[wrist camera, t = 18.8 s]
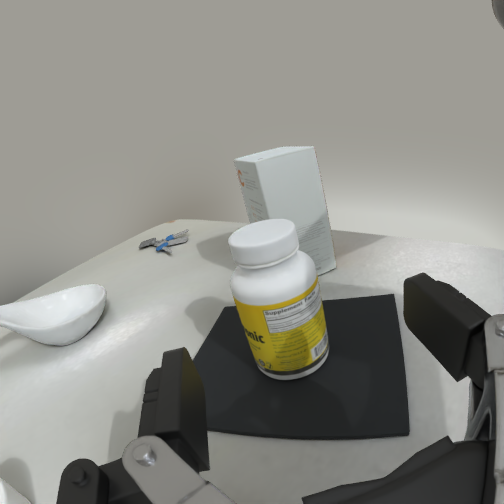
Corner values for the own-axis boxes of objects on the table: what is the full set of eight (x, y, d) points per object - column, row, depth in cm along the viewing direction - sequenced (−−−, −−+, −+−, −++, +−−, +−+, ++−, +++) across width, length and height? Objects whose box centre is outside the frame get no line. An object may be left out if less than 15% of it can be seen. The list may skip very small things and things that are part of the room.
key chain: (134, 248, 59) (133, 244, 59) (167, 231, 64) (166, 227, 64) (171, 255, 50) (169, 251, 49) (208, 234, 55) (207, 230, 54)
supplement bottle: (251, 344, 25) (214, 229, 21) (316, 324, 25) (293, 207, 21) (262, 392, 20) (218, 261, 16) (340, 367, 20) (321, 231, 16)
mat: (393, 297, 26) (393, 293, 25) (408, 435, 14) (409, 431, 13) (226, 309, 31) (224, 306, 31) (160, 421, 19) (158, 418, 19)
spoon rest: (109, 296, 41) (89, 250, 39) (124, 331, 32) (96, 273, 29) (-17, 359, 31) (-41, 317, 29) (-31, 405, 22) (-65, 357, 19)
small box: (338, 268, 33) (316, 145, 28) (284, 290, 32) (252, 161, 27) (305, 246, 40) (283, 145, 35) (259, 263, 39) (231, 159, 34)
